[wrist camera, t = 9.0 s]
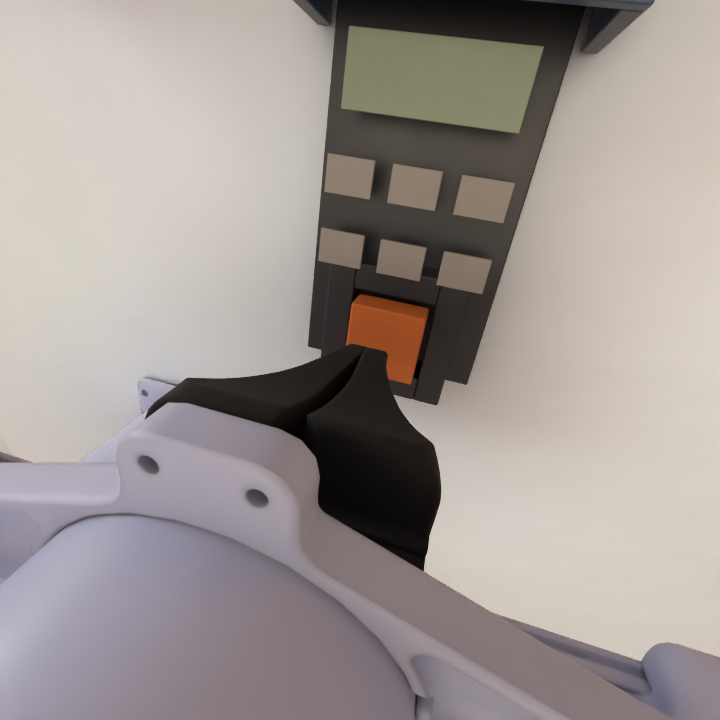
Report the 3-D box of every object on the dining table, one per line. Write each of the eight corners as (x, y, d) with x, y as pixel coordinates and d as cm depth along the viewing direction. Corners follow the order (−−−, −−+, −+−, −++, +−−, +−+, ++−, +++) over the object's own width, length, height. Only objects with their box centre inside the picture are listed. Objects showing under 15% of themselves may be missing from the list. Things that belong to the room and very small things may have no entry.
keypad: (481, 293, 16) (482, 294, 16) (319, 259, 17) (318, 260, 17) (554, 49, 12) (555, 47, 12) (340, 26, 13) (339, 24, 13)
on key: (414, 369, 19) (410, 385, 17) (351, 354, 19) (342, 368, 18) (429, 307, 17) (426, 319, 16) (360, 292, 18) (351, 303, 16)
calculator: (463, 387, 21) (462, 412, 19) (312, 350, 22) (295, 370, 20) (580, 10, 14) (602, -20, 11) (345, -12, 15) (324, -43, 13)
